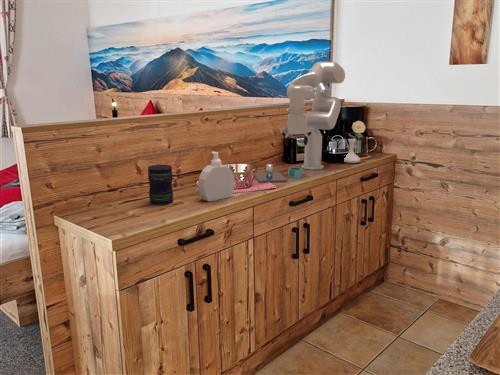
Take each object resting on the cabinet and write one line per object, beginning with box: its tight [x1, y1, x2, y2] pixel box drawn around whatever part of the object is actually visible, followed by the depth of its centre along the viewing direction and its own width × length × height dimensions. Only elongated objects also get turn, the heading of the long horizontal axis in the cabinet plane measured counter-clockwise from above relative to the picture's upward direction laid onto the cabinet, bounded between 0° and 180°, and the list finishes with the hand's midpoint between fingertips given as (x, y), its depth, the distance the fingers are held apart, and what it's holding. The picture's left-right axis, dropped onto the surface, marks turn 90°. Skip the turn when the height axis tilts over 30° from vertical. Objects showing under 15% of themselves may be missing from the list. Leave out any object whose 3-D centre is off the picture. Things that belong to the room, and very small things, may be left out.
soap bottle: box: [197, 151, 235, 202], centre depth 197 cm, size 16×5×20 cm, turn 130°
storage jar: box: [147, 164, 174, 206], centre depth 191 cm, size 10×10×15 cm
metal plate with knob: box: [254, 163, 288, 184], centre depth 236 cm, size 20×14×7 cm
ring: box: [287, 166, 304, 179], centre depth 241 cm, size 7×7×4 cm
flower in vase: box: [344, 120, 367, 164], centre depth 275 cm, size 13×11×25 cm
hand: (296, 145), depth 237 cm, fingers open, 9 cm apart
